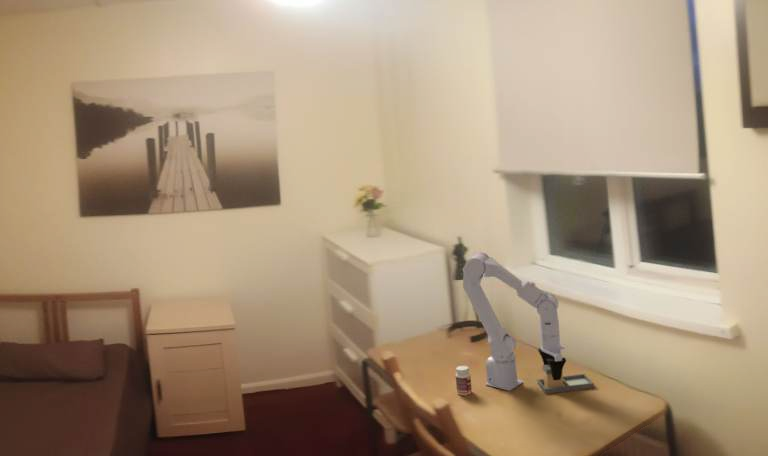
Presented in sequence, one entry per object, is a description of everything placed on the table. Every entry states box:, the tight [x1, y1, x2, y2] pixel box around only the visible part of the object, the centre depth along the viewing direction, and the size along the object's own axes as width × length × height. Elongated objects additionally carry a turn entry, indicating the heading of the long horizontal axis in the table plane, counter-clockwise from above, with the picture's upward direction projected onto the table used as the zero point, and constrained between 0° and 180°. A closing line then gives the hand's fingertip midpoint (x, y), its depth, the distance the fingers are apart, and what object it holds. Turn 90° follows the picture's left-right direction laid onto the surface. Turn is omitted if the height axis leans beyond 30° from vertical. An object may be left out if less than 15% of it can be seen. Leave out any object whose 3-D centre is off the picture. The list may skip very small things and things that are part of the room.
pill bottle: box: [455, 365, 473, 396], centre depth 207 cm, size 5×5×8 cm
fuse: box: [542, 364, 564, 388], centre depth 204 cm, size 5×4×7 cm
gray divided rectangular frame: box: [536, 373, 595, 395], centre depth 204 cm, size 16×8×2 cm, turn 92°
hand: (553, 375), depth 204 cm, fingers open, 7 cm apart
